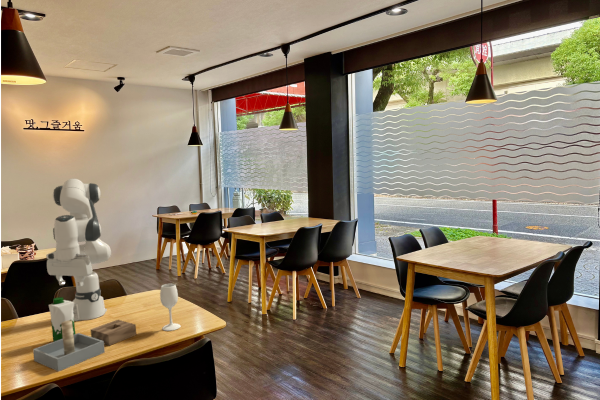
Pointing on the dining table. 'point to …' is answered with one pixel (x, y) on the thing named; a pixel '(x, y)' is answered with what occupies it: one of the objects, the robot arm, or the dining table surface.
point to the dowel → (68, 337)
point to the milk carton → (60, 316)
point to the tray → (55, 357)
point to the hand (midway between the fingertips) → (71, 285)
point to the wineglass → (169, 303)
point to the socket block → (114, 332)
